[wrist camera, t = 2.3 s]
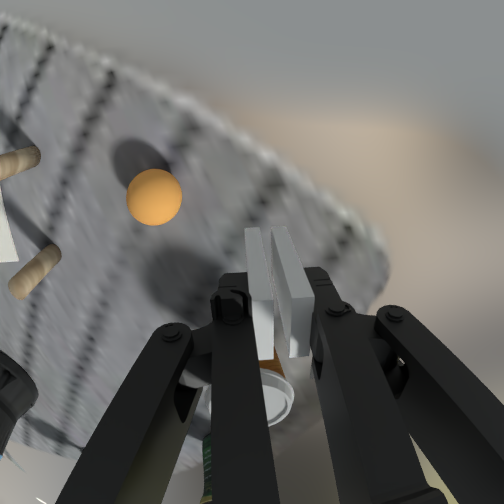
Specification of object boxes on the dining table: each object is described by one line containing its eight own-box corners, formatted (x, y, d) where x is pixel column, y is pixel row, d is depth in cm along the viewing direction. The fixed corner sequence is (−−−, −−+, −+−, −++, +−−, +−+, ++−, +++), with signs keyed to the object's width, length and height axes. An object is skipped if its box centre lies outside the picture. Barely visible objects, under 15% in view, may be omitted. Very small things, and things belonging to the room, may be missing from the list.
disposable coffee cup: (213, 303, 37) (206, 376, 26) (289, 311, 38) (307, 383, 27) (207, 357, 41) (201, 428, 30) (273, 363, 42) (283, 432, 31)
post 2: (49, 262, 33) (13, 299, 25) (43, 244, 32) (5, 278, 24) (63, 261, 34) (28, 300, 25) (58, 243, 32) (20, 278, 24)
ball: (140, 216, 32) (123, 236, 27) (132, 167, 29) (113, 178, 24) (188, 213, 32) (179, 231, 27) (183, 162, 30) (172, 171, 25)
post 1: (26, 168, 28) (-21, 188, 20) (24, 148, 27) (-25, 163, 19) (42, 164, 28) (-6, 184, 20) (39, 143, 27) (-10, 157, 19)
